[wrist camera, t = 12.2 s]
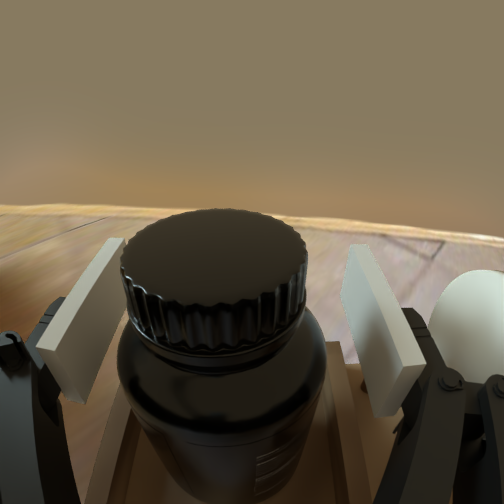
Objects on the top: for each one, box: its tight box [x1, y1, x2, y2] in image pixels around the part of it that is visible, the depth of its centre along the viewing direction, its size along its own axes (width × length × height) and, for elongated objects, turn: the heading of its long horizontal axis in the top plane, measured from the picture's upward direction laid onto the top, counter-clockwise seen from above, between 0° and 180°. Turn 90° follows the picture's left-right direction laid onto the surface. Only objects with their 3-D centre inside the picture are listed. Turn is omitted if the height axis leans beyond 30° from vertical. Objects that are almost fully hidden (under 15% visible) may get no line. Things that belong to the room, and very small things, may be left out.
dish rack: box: [85, 270, 504, 504], centre depth 12 cm, size 20×11×11 cm, turn 89°
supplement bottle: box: [117, 208, 327, 504], centre depth 11 cm, size 7×7×12 cm
